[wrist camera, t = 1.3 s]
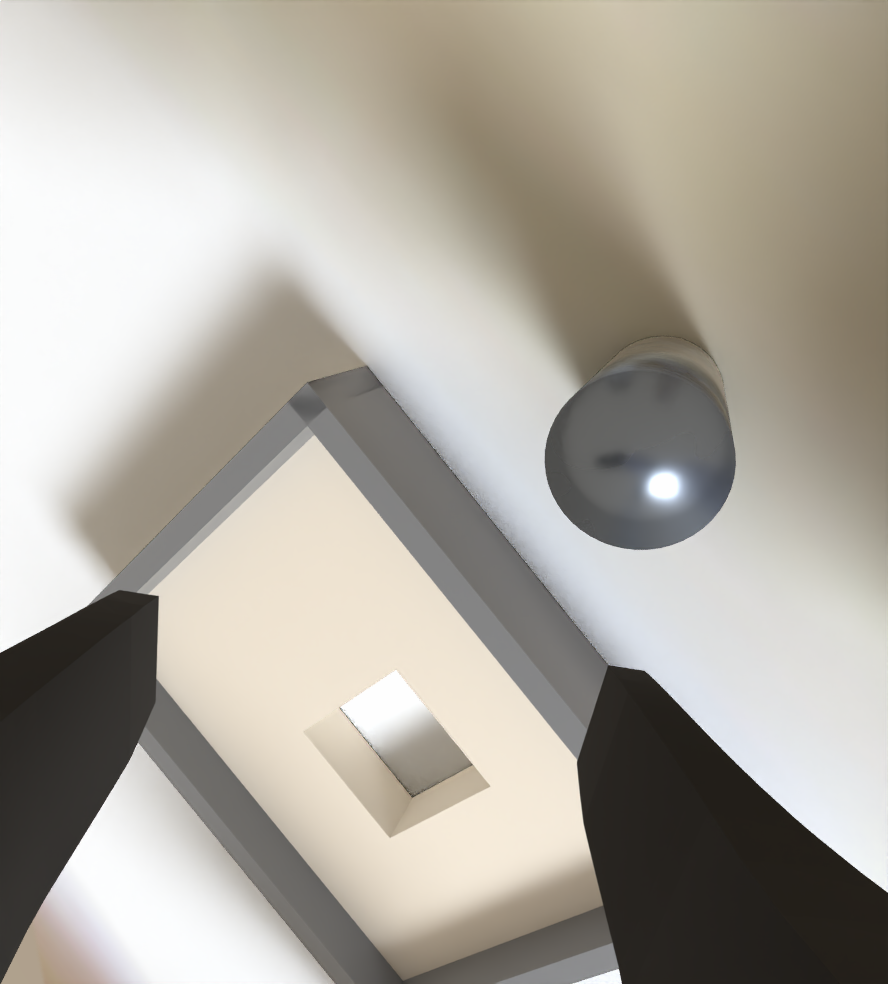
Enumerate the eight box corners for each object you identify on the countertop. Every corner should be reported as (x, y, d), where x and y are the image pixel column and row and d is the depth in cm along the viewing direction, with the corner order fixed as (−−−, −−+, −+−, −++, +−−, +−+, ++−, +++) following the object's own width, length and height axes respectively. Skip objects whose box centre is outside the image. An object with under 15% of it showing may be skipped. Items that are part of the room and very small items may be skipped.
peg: (672, 309, 18) (655, 330, 11) (751, 408, 18) (777, 482, 11) (573, 388, 19) (509, 445, 13) (646, 479, 19) (619, 581, 13)
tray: (366, 365, 21) (307, 382, 18) (740, 829, 21) (746, 927, 18) (129, 597, 27) (54, 639, 24) (421, 955, 27) (384, 1044, 24)
